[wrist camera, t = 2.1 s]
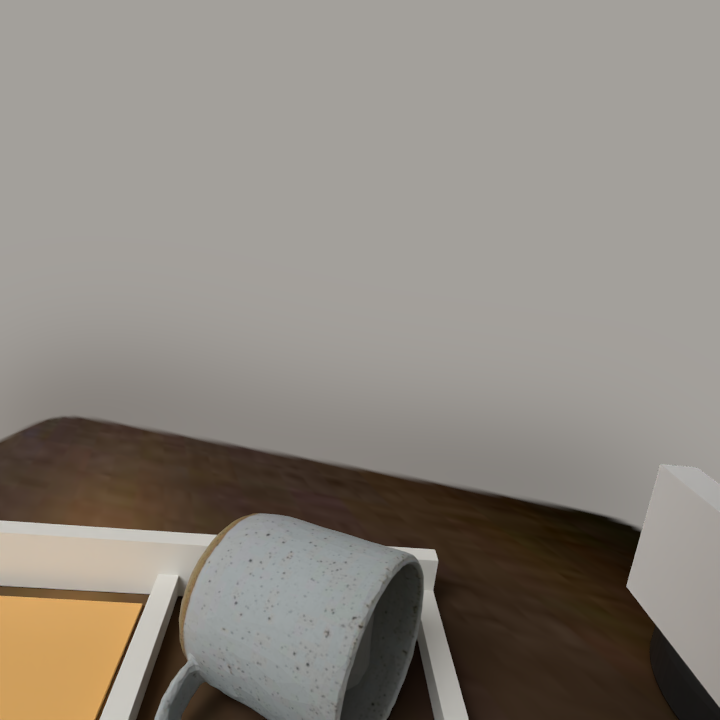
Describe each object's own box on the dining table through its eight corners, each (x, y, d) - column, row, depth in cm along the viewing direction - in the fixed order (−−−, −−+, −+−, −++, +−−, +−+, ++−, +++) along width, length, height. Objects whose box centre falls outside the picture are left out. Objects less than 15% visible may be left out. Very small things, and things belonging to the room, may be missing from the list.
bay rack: (425, 593, 34) (433, 545, 33) (497, 876, 20) (515, 806, 19) (-98, 562, 31) (-103, 509, 31) (-423, 861, 18) (-447, 780, 17)
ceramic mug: (267, 605, 32) (277, 469, 29) (415, 675, 28) (439, 527, 26) (95, 768, 22) (91, 588, 20) (284, 901, 19) (304, 702, 17)
